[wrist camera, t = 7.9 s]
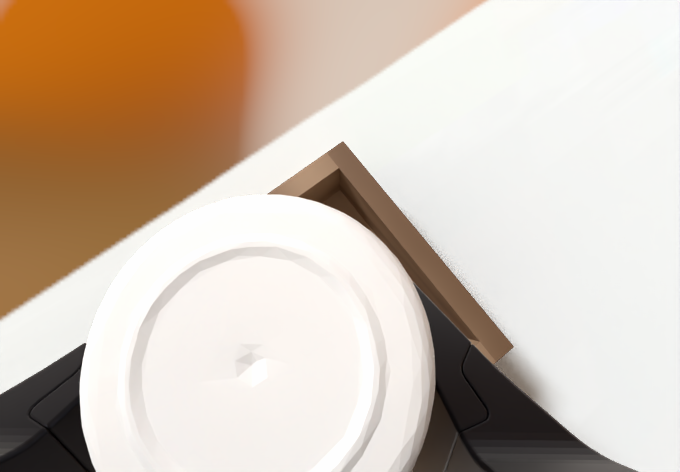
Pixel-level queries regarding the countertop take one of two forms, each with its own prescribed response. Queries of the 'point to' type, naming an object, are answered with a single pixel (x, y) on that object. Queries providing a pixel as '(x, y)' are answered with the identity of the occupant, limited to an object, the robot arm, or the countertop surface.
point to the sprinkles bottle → (259, 348)
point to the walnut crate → (395, 240)
